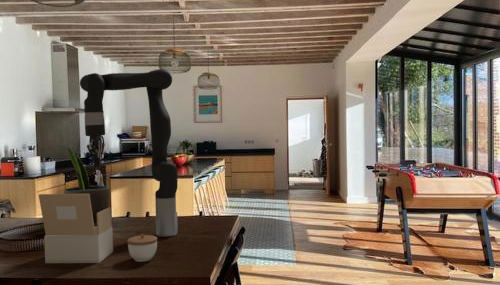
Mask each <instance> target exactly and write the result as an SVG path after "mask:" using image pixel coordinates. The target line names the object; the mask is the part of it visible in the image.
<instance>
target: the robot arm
mask: <svg viewBox="0 0 500 285" xmlns="http://www.w3.org/2000/svg"><path fill="white" fill-rule="evenodd" d="M172 83H173V76H172V74H171V73H170V71H168V70H166V69H163V68H159V69H153V70H150V71H148V72H115V73H113V72H112V73H105V74H99V73H96V72H94V73H93V72H92V73H89V74H86V75H84V76H81V78H80V80H79V85H80V89H82V90H83V91H85V92H87V95H86V98H85V99H84V101H83V108H84V119H83V120H84V121H83V122H84V134H85V135H84V136H86V137H89V141H88V144H86V147H87V151H88V153H89V156H90V157H92V159H93V167H94V168H100V167H101V158H102V156H103V155H104V154H103V153H104V150H105V146H106V145H105V142H103V139H102V137H103V136H105V135H106V129H105V128H106V126H105V115H104V105H103V104H104V103H103V99H104V95H105V92H106V91H125V90H132V89H139V88H146V93H147V99H148V111H149V112H148V113H149V127H150V128H149V129H150V135H151V136H150V137H151V139H150V140H151V175H152V178H153V179H154V180H155V181H156V182H159V186H158V187H159V188H158V189H157V190H156V191H155V193H154V195H155V197H154V199H155V201H154V202H155V204H154V205H155V232H156V233H155V236H156V237H173V236H176V235H177V234H178V230H179V229H178V228H179V227H178V212H177V200H176V196H177V190H178V180H179V179H178V178H179V177H178V175H179V174H178V168H177V166H176V165H175V164H174V163H173V162H169V161H168V156H167V153H168V152H167V151H168V147H169V146H168V145H169V143H170V140H171V136H172V124H171V123H172V122H171V117H170V114H169V112H168V110H167V108H166V106H165V103H164V99H163V98H164V97H163V90H167V89H168V88H169V87H170V86H171V85H172Z"/></svg>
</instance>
